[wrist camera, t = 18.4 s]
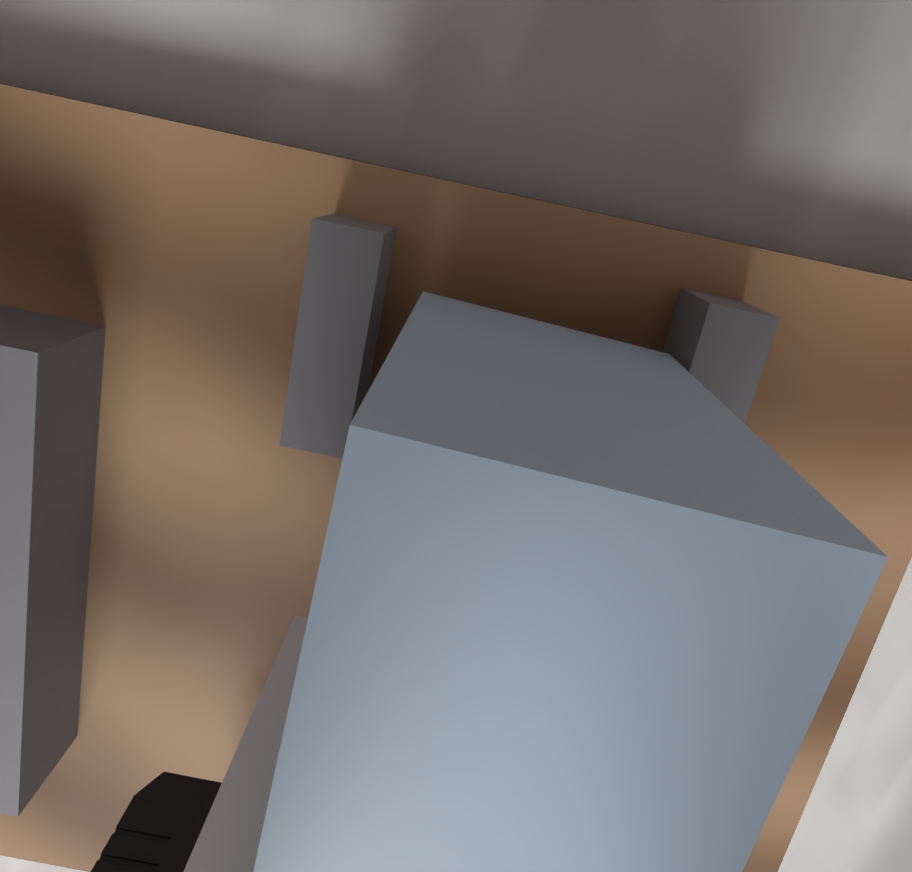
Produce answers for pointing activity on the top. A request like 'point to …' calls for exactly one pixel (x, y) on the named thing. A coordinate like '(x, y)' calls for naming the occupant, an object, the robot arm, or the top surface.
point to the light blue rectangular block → (555, 616)
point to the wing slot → (359, 314)
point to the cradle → (44, 537)
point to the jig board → (316, 475)
